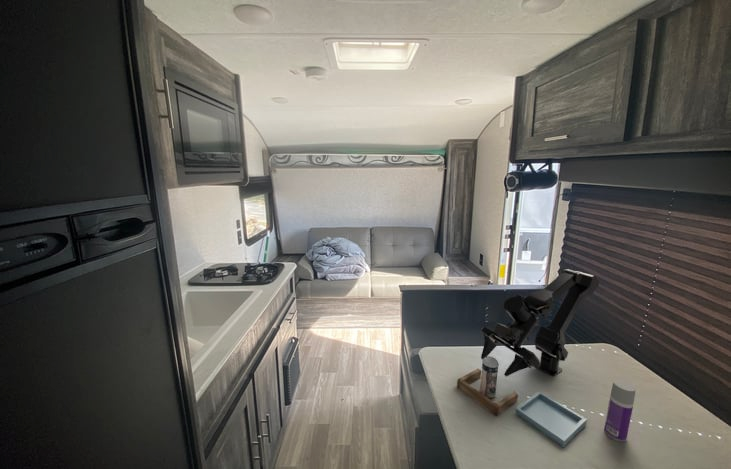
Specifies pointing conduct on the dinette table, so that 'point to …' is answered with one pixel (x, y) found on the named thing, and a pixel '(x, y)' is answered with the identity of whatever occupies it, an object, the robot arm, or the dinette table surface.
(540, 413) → the tray
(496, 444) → the dinette table surface
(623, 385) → the container
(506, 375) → the robot arm
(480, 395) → the frame
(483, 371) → the beer can
